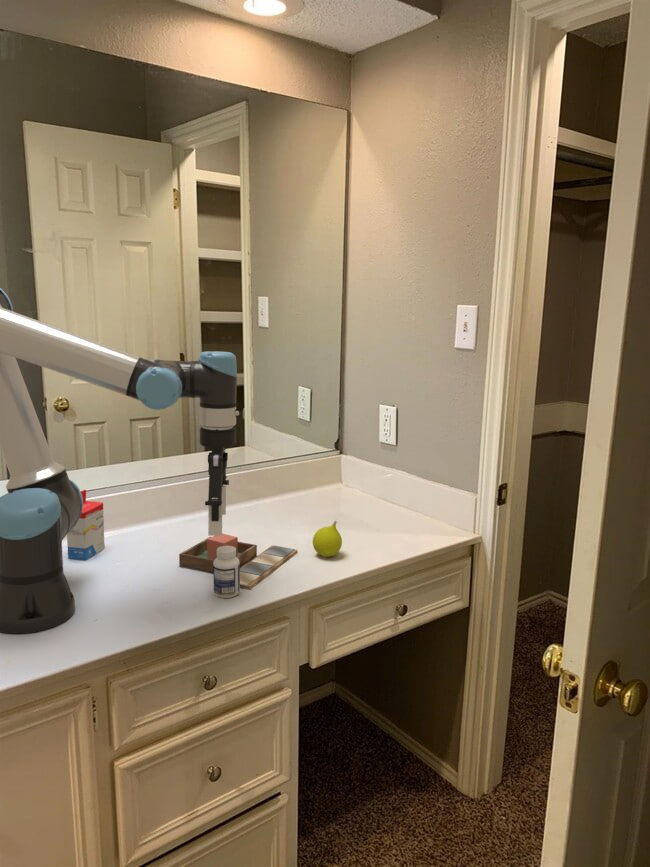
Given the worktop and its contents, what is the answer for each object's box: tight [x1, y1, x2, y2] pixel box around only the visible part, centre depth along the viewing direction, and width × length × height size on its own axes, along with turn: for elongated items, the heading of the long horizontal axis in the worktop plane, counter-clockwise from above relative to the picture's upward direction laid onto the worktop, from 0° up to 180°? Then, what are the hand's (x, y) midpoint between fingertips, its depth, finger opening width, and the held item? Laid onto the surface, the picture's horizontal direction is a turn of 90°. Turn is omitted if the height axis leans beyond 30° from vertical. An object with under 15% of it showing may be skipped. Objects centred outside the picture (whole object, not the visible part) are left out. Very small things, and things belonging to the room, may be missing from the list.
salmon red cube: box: [206, 532, 239, 560], centre depth 154 cm, size 5×5×5 cm
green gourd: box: [312, 519, 343, 558], centre depth 158 cm, size 7×7×10 cm
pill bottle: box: [212, 546, 241, 599], centre depth 136 cm, size 5×5×10 cm
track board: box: [240, 545, 298, 590], centre depth 151 cm, size 24×7×1 cm, turn 157°
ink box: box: [66, 489, 106, 561], centre depth 155 cm, size 8×5×15 cm, turn 168°
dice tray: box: [178, 536, 258, 574], centre depth 153 cm, size 13×13×3 cm
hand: (217, 524), depth 140 cm, fingers open, 13 cm apart
